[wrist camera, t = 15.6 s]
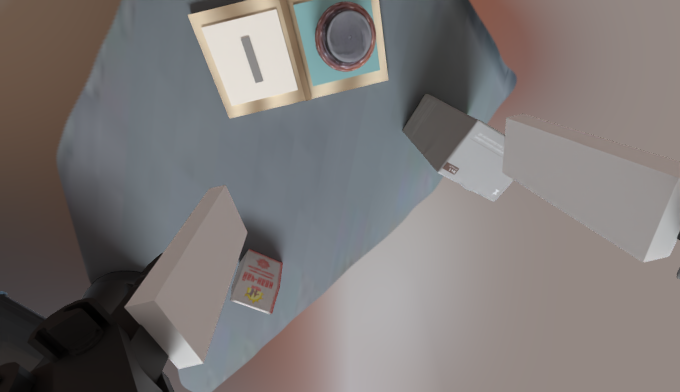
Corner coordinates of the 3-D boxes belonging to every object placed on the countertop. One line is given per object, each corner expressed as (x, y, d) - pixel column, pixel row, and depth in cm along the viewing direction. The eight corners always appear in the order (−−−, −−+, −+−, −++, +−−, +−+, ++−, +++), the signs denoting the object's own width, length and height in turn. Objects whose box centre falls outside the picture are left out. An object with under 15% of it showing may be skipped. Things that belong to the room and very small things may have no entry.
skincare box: (467, 116, 42) (546, 150, 28) (439, 157, 44) (498, 206, 31) (423, 89, 39) (485, 112, 25) (395, 134, 42) (438, 176, 28)
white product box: (273, 276, 53) (266, 321, 44) (239, 262, 50) (225, 307, 42) (282, 263, 51) (277, 306, 43) (248, 248, 49) (235, 291, 40)
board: (231, 116, 38) (228, 119, 37) (191, 16, 33) (185, 14, 31) (386, 79, 38) (389, 80, 37) (372, -29, 32) (376, -33, 31)
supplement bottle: (349, 0, 32) (368, -21, 22) (370, 52, 35) (394, 53, 25) (304, 27, 33) (303, 18, 23) (328, 76, 36) (336, 86, 26)
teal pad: (313, 86, 37) (313, 86, 36) (293, 5, 32) (293, 4, 32) (379, 69, 36) (380, 70, 36) (368, -14, 32) (369, -15, 32)
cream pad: (232, 105, 37) (231, 106, 36) (202, 28, 32) (200, 27, 32) (298, 89, 37) (298, 90, 36) (276, 9, 32) (276, 8, 32)
